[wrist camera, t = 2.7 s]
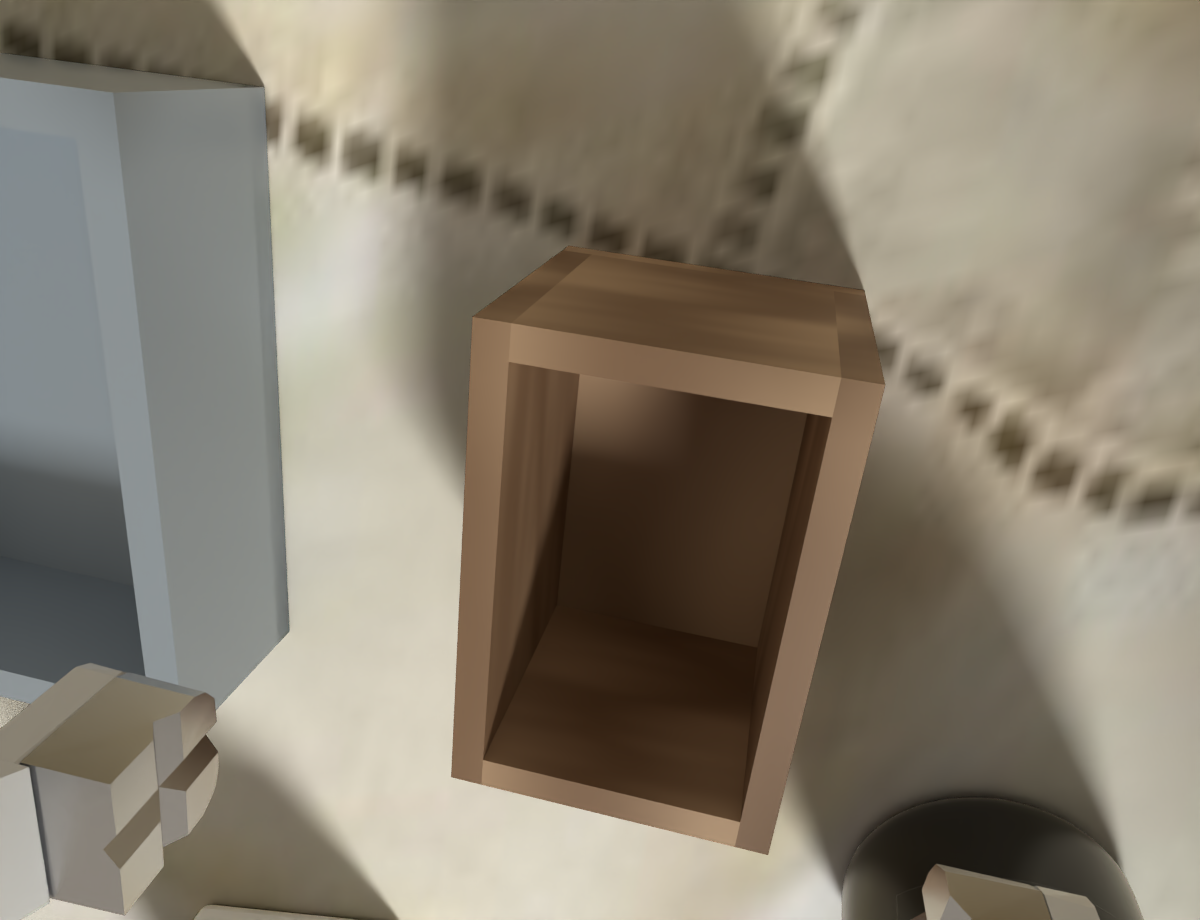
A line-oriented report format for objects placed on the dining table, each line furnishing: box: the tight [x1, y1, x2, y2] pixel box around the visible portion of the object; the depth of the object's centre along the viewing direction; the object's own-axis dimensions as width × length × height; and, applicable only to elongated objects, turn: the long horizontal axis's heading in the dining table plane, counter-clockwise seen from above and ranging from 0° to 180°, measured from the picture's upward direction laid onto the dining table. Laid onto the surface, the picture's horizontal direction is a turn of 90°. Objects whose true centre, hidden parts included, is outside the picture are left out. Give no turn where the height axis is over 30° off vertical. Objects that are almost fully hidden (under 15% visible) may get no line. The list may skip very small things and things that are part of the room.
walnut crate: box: [451, 246, 885, 855], centre depth 18 cm, size 6×9×6 cm, turn 174°
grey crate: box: [0, 53, 289, 709], centre depth 20 cm, size 11×14×4 cm
